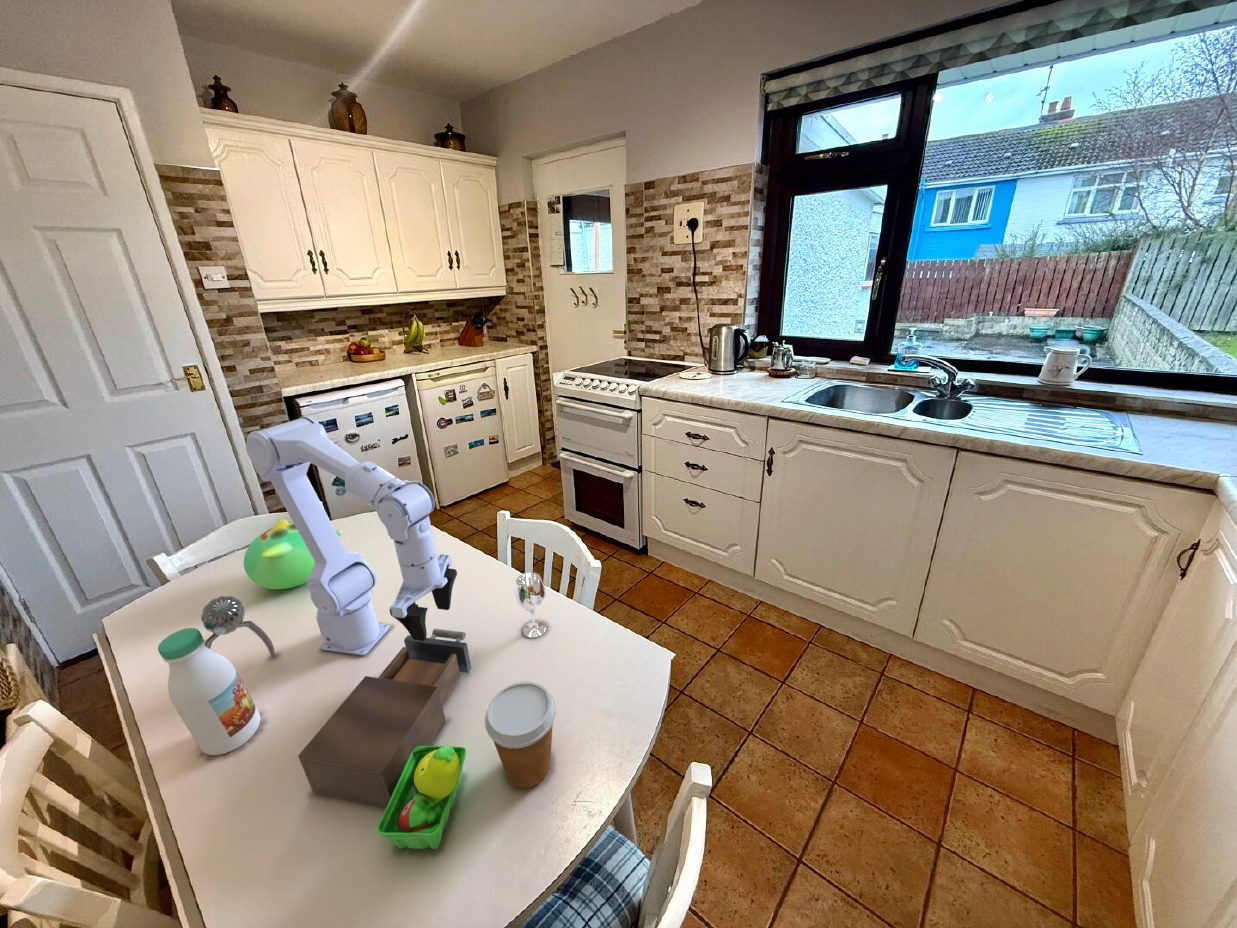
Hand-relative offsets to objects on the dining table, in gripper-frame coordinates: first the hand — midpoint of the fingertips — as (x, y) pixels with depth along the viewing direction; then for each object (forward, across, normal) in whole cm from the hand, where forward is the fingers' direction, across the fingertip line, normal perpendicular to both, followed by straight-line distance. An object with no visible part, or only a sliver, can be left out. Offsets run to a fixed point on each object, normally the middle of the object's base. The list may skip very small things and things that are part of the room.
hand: (432, 622), depth 83 cm
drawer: (+9, -4, 0) cm, 10 cm away
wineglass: (+11, +12, -13) cm, 21 cm away
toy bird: (+11, +19, +47) cm, 52 cm away
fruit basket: (+11, -23, -12) cm, 28 cm away
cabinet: (+10, -17, 0) cm, 20 cm away
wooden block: (+8, -6, 0) cm, 10 cm away
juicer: (+7, -6, +39) cm, 40 cm away
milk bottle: (+10, -18, +26) cm, 33 cm away
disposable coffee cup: (+10, -15, -22) cm, 29 cm away
